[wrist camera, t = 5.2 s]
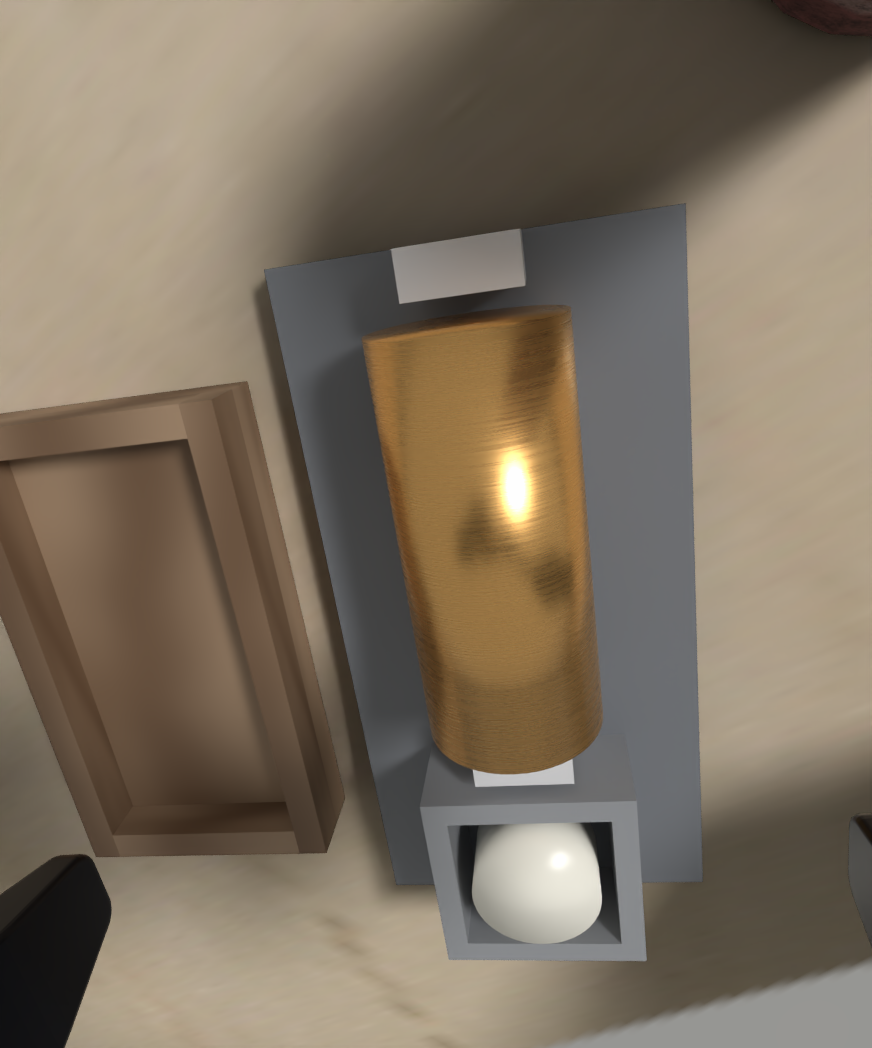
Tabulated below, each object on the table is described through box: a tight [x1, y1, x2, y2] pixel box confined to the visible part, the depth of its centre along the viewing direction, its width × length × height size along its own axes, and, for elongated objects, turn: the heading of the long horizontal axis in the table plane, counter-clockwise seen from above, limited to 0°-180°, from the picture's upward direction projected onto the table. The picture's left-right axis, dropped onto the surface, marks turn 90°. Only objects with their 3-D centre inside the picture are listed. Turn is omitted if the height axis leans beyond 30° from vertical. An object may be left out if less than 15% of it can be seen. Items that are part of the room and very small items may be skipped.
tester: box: [264, 203, 703, 961], centre depth 18 cm, size 9×18×4 cm, turn 8°
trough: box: [0, 381, 345, 857], centre depth 20 cm, size 7×13×2 cm, turn 8°
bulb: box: [472, 822, 602, 944], centre depth 19 cm, size 3×3×2 cm
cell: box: [362, 305, 603, 775], centre depth 16 cm, size 4×10×4 cm, turn 8°
